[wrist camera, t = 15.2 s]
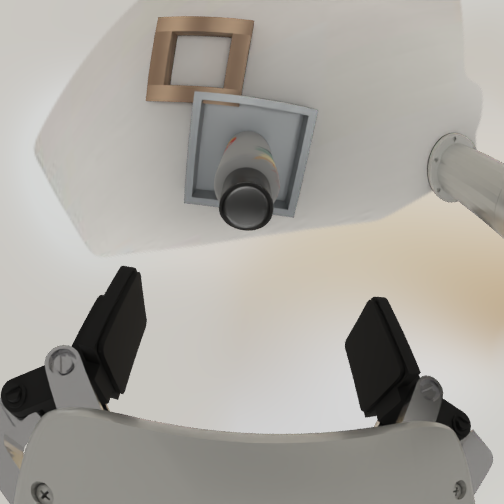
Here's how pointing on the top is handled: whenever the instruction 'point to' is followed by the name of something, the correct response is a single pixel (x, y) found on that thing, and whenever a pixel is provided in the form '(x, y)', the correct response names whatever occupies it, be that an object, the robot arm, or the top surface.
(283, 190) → the tray
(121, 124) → the top surface
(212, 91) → the socket stand
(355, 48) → the top surface
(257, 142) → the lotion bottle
